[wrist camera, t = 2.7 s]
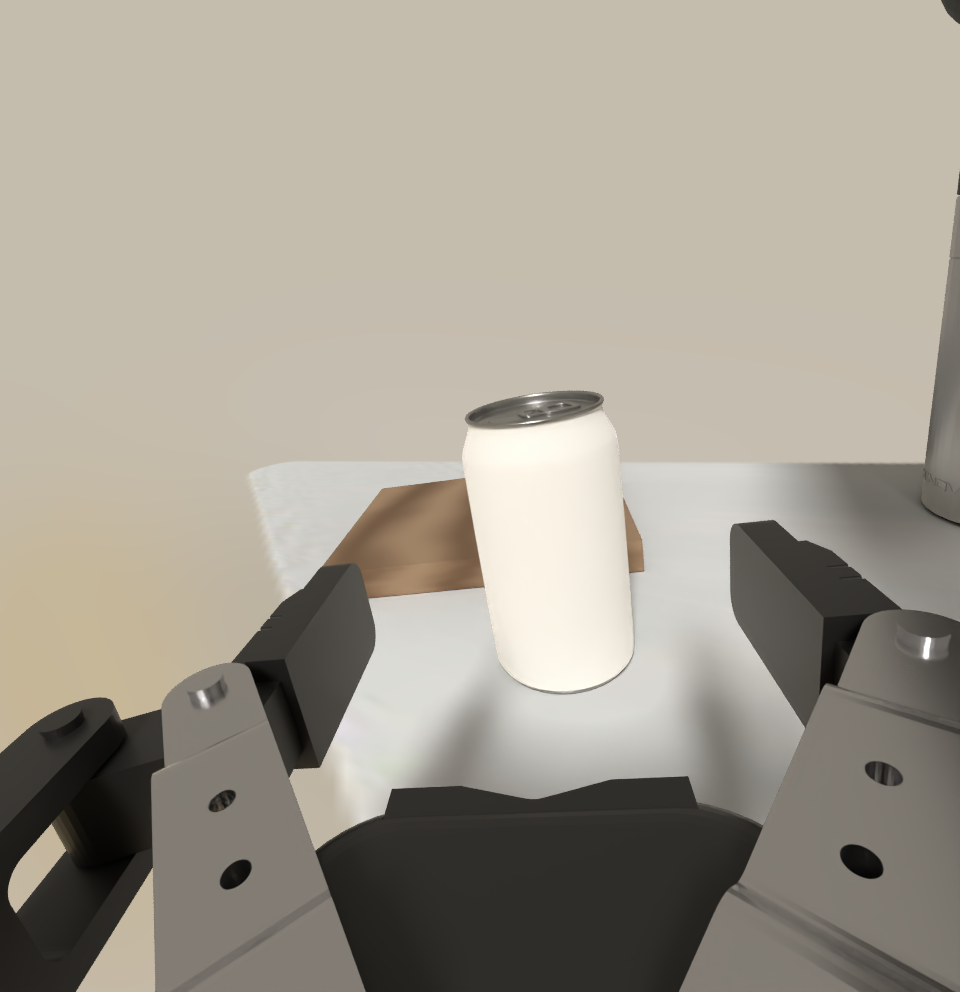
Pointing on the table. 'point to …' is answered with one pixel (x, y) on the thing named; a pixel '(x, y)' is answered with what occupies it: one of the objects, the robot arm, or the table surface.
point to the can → (551, 538)
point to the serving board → (428, 541)
